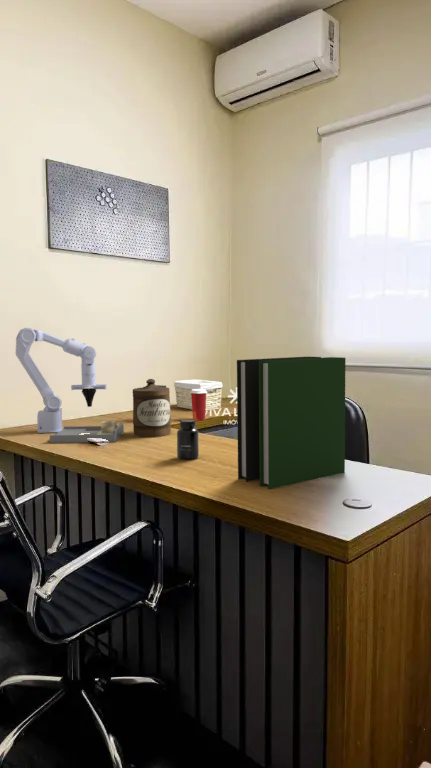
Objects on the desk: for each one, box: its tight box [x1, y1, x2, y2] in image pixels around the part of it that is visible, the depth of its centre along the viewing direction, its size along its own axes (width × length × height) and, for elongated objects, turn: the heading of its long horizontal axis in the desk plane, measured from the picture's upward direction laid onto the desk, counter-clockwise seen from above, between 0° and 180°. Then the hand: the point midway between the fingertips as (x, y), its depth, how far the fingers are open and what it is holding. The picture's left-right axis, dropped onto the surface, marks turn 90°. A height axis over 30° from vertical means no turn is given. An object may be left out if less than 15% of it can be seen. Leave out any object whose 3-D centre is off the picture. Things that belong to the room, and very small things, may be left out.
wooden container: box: [132, 378, 172, 438], centre depth 211 cm, size 15×15×22 cm
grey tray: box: [49, 422, 125, 444], centre depth 206 cm, size 24×20×4 cm
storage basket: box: [173, 378, 223, 412], centre depth 285 cm, size 24×16×15 cm
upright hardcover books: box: [236, 356, 346, 490], centre depth 145 cm, size 27×15×32 cm, turn 126°
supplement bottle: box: [176, 419, 200, 461], centre depth 168 cm, size 7×7×12 cm
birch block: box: [100, 420, 118, 433], centre depth 206 cm, size 5×5×4 cm
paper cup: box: [190, 389, 207, 422], centre depth 246 cm, size 8×8×14 cm
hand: (89, 406), depth 226 cm, fingers closed
